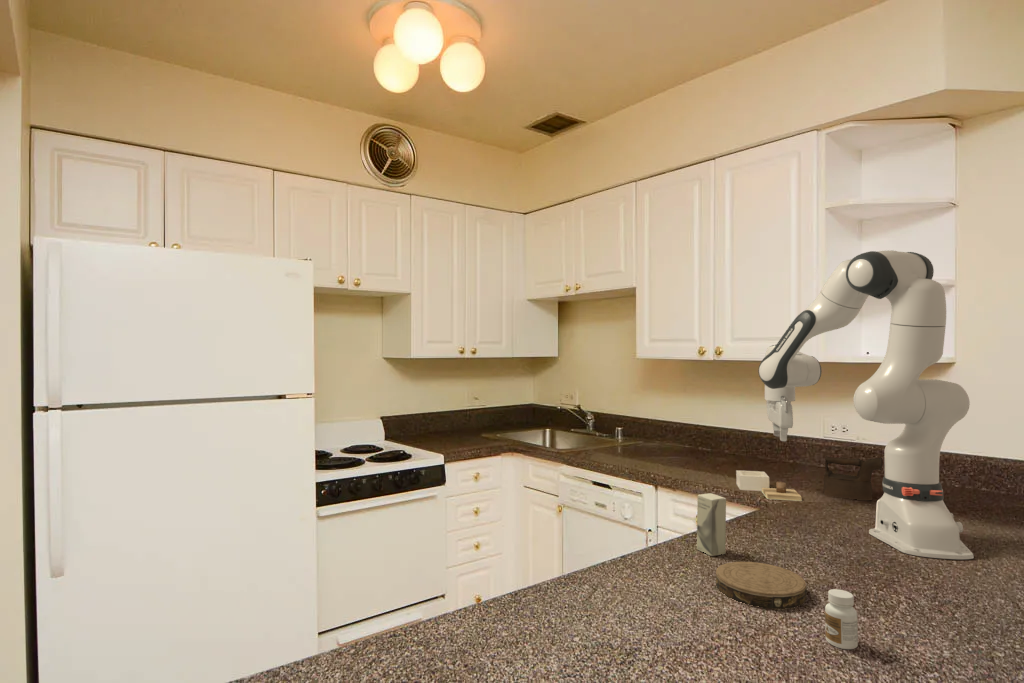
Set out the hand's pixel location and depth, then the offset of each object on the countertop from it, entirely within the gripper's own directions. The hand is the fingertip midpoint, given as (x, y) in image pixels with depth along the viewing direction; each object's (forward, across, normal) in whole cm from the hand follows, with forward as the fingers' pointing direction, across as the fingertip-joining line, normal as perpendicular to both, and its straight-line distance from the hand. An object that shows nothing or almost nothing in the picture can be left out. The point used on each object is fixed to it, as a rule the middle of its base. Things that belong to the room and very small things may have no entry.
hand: (780, 438), depth 180 cm
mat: (+18, 0, 0) cm, 19 cm away
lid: (+18, 0, 0) cm, 18 cm away
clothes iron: (+19, +4, -21) cm, 29 cm away
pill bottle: (+17, -96, +10) cm, 99 cm away
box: (+18, -58, +26) cm, 66 cm away
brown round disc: (+18, -78, +19) cm, 83 cm away
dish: (+19, +10, +7) cm, 22 cm away
